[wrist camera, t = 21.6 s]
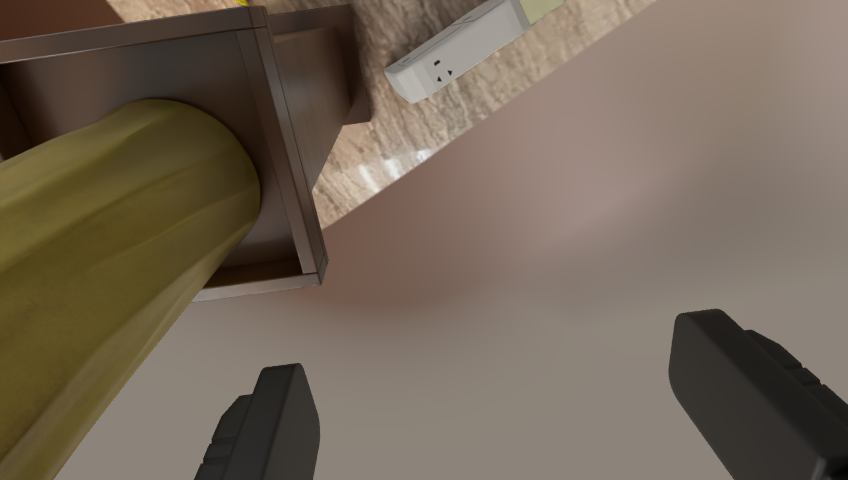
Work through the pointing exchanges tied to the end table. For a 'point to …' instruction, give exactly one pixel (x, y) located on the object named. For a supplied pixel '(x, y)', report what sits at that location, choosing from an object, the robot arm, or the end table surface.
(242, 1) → the game controller
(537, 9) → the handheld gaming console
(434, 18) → the end table surface
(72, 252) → the vase
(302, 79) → the display stand
